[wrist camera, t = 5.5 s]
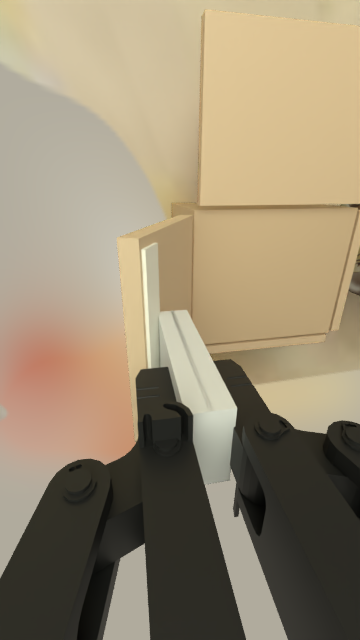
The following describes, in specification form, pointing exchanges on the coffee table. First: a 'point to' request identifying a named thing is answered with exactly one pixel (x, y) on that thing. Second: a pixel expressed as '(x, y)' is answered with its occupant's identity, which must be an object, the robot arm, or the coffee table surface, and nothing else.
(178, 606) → the robot arm
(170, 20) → the coffee table surface
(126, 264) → the panel
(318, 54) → the carton
